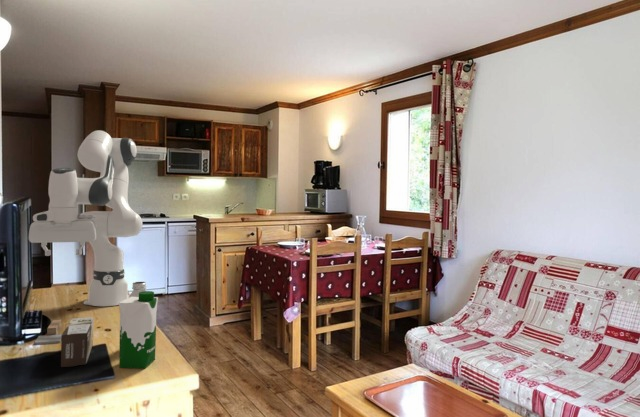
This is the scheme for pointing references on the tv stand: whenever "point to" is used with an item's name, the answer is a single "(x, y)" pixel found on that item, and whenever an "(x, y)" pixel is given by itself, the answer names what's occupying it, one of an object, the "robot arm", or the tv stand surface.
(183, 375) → the tv stand surface
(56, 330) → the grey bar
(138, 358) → the milk carton
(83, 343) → the coffee box
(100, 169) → the robot arm
